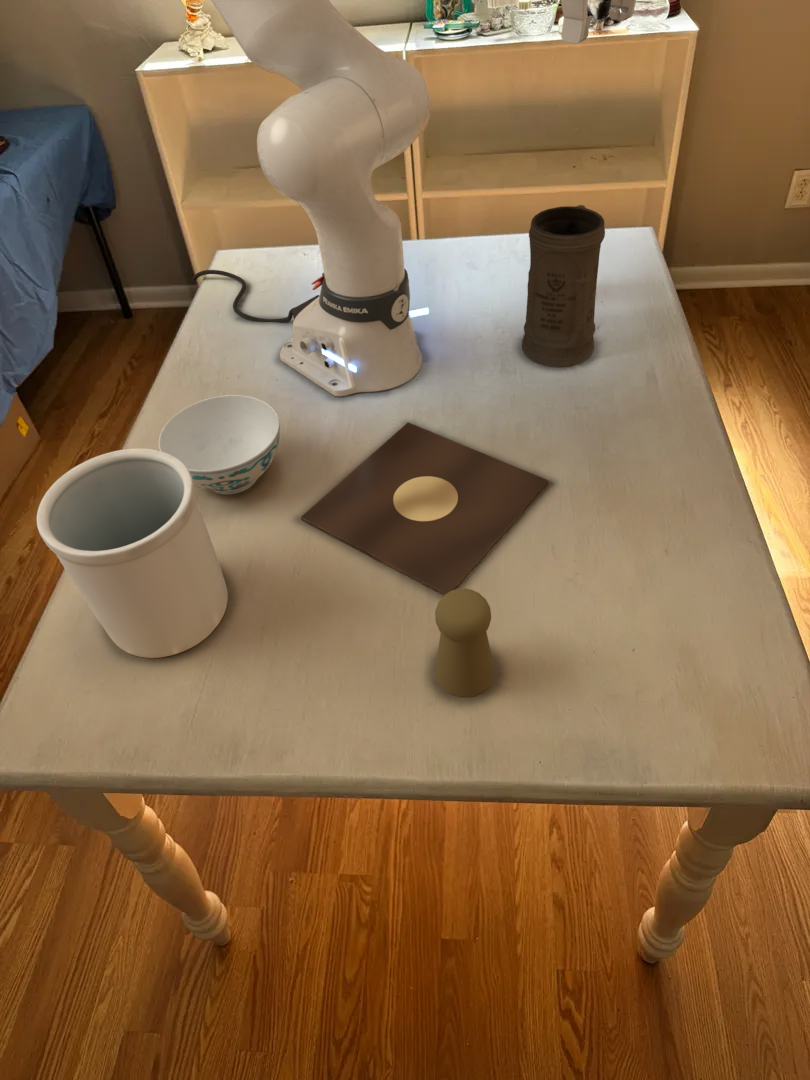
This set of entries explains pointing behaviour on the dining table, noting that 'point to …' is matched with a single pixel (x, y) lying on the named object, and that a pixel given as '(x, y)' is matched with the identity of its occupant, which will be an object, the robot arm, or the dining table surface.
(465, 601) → the olive brown pawn
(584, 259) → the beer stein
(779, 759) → the dining table surface
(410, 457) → the mat
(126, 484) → the utensil holder
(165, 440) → the chinaware
